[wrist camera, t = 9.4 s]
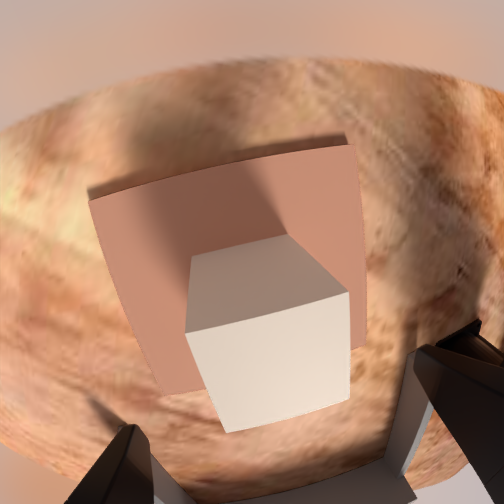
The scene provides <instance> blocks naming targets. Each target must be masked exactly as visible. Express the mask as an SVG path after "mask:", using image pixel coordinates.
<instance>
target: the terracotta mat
mask: <svg viewBox="0 0 504 504" xmlns="http://www.w3.org/2000/svg"><path fill="white" fill-rule="evenodd" d="M88 204H89V208H90V211H91V215H92V219H93V222H94V226H95V229H96V232H97V236H98V239H99V242H100V245H101V248H102V251H103V254H104V258H105V260H106V263H107V266H108V269H109V272H110V275H111V278H112V280H113V283H114V286H115V288H116V291H117V294H118V296H119V299H120V301H121V304H122V306H123V309H124V311H125V314H126V316H127V319H128V321H129V323H130V326H131V328H132V330H133V332H134V335H135V337H136V339H137V341H138V344H139V346H140V348H141V350H142V352H143V354H144V356H145V359H146V361H147V363H148V365H149V367H150V369H151V371H152V373H153V375H154V377H155V379H156V381H157V383H158V384H159V386H160V388H161V390H162V392H163V394H164V396H168V395H174V394H181V393H187V392H193V391H198V390H204V389H206V386H205V384H204V382H203V379H202V377H201V374H200V372H199V369H198V367H197V364H196V362H195V359H194V357H193V354H192V352H191V349H190V346H189V344H188V341H187V339H186V336H185V323H186V310H187V299H188V288H189V278H190V268H191V258H192V256H195V255H199V254H203V253H207V252H212V251H216V250H220V249H224V248H229V247H233V246H237V245H241V244H246V243H250V242H254V241H259V240H263V239H267V238H272V237H276V236H280V235H285V234H289V235H290V236H291V237H292V238H293V239H294V240H295V241H296V242H297V243H298V244H299V245H300V246H301V247H303V248H304V249H305V250H306V251H307V252H308V253H309V254H310V255H311V256H312V257H313V258H314V259H315V260H316V261H317V262H319V263H320V264H321V265H322V266H323V267H324V268H325V269H326V270H327V271H328V272H329V273H330V274H331V275H332V276H333V277H334V278H335V279H336V280H337V281H338V282H339V283H341V284H342V285H343V286H344V287H345V288H346V289H347V290H348V291H349V304H350V350H353V349H356V348H358V347H361V346H364V345H366V327H367V286H366V256H365V238H364V224H363V212H362V201H361V192H360V183H359V175H358V167H357V160H356V153H355V146H354V144H348V145H339V146H331V147H323V148H316V149H309V150H302V151H295V152H289V153H283V154H277V155H271V156H265V157H260V158H254V159H249V160H244V161H239V162H234V163H229V164H224V165H219V166H215V167H210V168H206V169H201V170H197V171H193V172H189V173H185V174H181V175H177V176H173V177H169V178H165V179H161V180H157V181H154V182H150V183H146V184H143V185H139V186H136V187H132V188H129V189H125V190H122V191H119V192H115V193H112V194H109V195H106V196H103V197H100V198H96V199H93V200H91V201H88Z"/></svg>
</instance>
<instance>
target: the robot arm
mask: <svg viewBox="0 0 504 504" xmlns="http://www.w3.org/2000/svg"><path fill="white" fill-rule="evenodd" d="M481 324H482V321H481V320H479V319H477V320H475V321H474V322H472V323H470V324H469V325H467V326H465V327H463V328H462V329H460V330H458V331H456V332H455V333H453V334H451V335H449V336H447V337H445V338H443V339H442V340H440V341H438V342H437V343H436V345H435V346H433V345H430V344H425V345H423V346H421V347H418V348H417V349H416V352H415V357H414V363H413V371H414V373H415V375H416V377H417V379H418V380H419V382H420V384H421V386H422V388H423V390H424V391H425V393H426V395H427V397H428V399H429V401H430V403H431V404H432V406H433V407H434V409H435V410H436V412H437V413H438V415H439V416H440V418H441V419H442V421H443V422H444V424H445V425H446V427H447V428H448V430H449V431H450V433H451V434H452V436H453V437H454V439H455V440H456V442H457V443H458V445H459V446H460V448H461V449H462V451H463V453H464V454H465V456H466V457H467V459H468V461H469V463H470V464H471V465H472V467H473V468H474V470H475V472H476V473H477V475H478V476H479V478H480V480H481V481H482V483H483V485H484V487H485V488H486V490H487V492H488V494H489V495H490V497H491V499H492V500H493V502H494V504H504V354H503V353H502V352H501V351H499V350H498V349H497V348H496V347H494V346H493V345H492V344H491V343H489V342H488V341H487V340H486V339H484V338H483V337H482V336H480V335H479V332H480V328H481ZM64 504H154V482H153V472H152V464H151V454H150V444H149V440H148V438H147V437H146V436H145V434H144V433H143V432H142V430H141V429H140V427H139V426H138V425H136V424H127V425H124V426H123V427H122V428H121V429H120V431H119V432H118V433H117V435H116V436H115V437H114V439H113V440H112V441H111V442H110V444H109V445H108V446H107V448H106V449H105V450H104V452H103V453H102V454H101V456H100V457H99V458H98V459H97V461H96V462H95V463H94V465H93V466H92V467H91V469H90V470H89V471H88V473H87V474H86V475H85V476H84V478H83V479H82V480H81V482H80V483H79V484H78V486H77V487H76V488H75V489H74V491H73V492H72V493H71V495H70V496H69V497H68V500H66V501H65V502H64Z"/></svg>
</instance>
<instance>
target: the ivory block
mask: <svg viewBox="0 0 504 504" xmlns="http://www.w3.org/2000/svg"><path fill="white" fill-rule="evenodd" d="M185 336H186V339H187V341H188V344H189V346H190V349H191V352H192V354H193V357H194V359H195V362H196V364H197V367H198V369H199V372H200V374H201V377H202V379H203V382H204V384H205V386H206V389H207V391H208V393H209V396H210V398H211V400H212V403H213V405H214V407H215V409H216V412H217V414H218V416H219V418H220V420H221V423H222V425H223V427H224V429H225V431H226V433H229V432H234V431H239V430H244V429H249V428H253V427H257V426H262V425H266V424H270V423H274V422H278V421H281V420H285V419H289V418H292V417H296V416H299V415H303V414H306V413H309V412H312V411H316V410H319V409H322V408H325V407H328V406H331V405H333V404H336V403H339V402H342V401H345V400H347V399H349V395H350V304H349V291H348V290H347V289H346V288H345V287H344V286H343V285H342V284H341V283H339V282H338V281H337V280H336V279H335V278H334V277H333V276H332V275H331V274H330V273H329V272H328V271H327V270H326V269H325V268H324V267H323V266H322V265H321V264H320V263H319V262H317V261H316V260H315V259H314V258H313V257H312V256H311V255H310V254H309V253H308V252H307V251H306V250H305V249H304V248H303V247H301V246H300V245H299V244H298V243H297V242H296V241H295V240H294V239H293V238H292V237H291V236H290V235H289V234H285V235H280V236H276V237H272V238H267V239H263V240H259V241H254V242H250V243H246V244H241V245H237V246H233V247H229V248H224V249H220V250H216V251H212V252H207V253H203V254H199V255H195V256H192V258H191V268H190V278H189V288H188V299H187V310H186V323H185Z"/></svg>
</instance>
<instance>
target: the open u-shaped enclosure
mask: <svg viewBox="0 0 504 504" xmlns="http://www.w3.org/2000/svg"><path fill="white" fill-rule="evenodd" d="M415 352H416V351H414V352H412V353H410V354H408V356H407V362H406V368H405V374H404V379H403V384H402V389H401V394H400V398H399V403H398V407H397V411H396V415H395V419H394V423H393V427H392V430H391V434H390V438H389V441H388V444H387V448H386V451H385V454H384V457H382V458H380V459H378V460H376V461H373V462H371V463H369V464H366V465H364V466H362V467H359V468H357V469H354V470H352V471H349V472H346V473H344V474H341V475H338V476H335V477H333V478H330V479H327V480H324V481H321V482H317V483H314V484H311V485H308V486H304V487H301V488H297V489H293V490H289V491H285V492H281V493H277V494H273V495H268V496H263V497H258V498H253V499H248V500H242V501H235V502H229V503H221V504H411V503H413V502H414V501H416V500H417V497H416V495H415V493H414V492H413V490H412V488H411V487H410V485H409V483H408V482H407V480H406V478H405V477H404V474H405V473H406V471H407V469H408V467H409V465H410V463H411V461H412V459H413V456H414V454H415V452H416V450H417V448H418V446H419V443H420V441H421V439H422V437H423V434H424V432H425V430H426V427H427V425H428V422H429V420H430V417H431V414H432V412H433V409H434V407H433V406H432V404H431V403H430V401H429V399H428V397H427V395H426V393H425V391H424V390H423V388H422V386H421V384H420V382H419V380H418V379H417V377H416V375H415V373H414V371H413V363H414V357H415ZM122 427H123V426H119V428H118V432H119V431H120V429H121V428H122ZM118 432H117V433H118ZM150 454H151V453H150ZM151 464H152V472H153V482H154V504H197V503H196V502H195V501H194V500H193V499H192V498H191V497H190V496H189V495H188V494H187V493H186V492H185V491H184V490H183V489H182V488H181V487H180V486H179V485H178V484H177V482H176V481H175V480H174V479H173V478H172V477H171V476H170V475H169V474H168V473H167V472H166V470H165V469H164V468H163V467H162V466H161V465H160V464H159V462H158V461H157V460H156V459H155V458H154V457H153V455H152V454H151Z"/></svg>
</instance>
